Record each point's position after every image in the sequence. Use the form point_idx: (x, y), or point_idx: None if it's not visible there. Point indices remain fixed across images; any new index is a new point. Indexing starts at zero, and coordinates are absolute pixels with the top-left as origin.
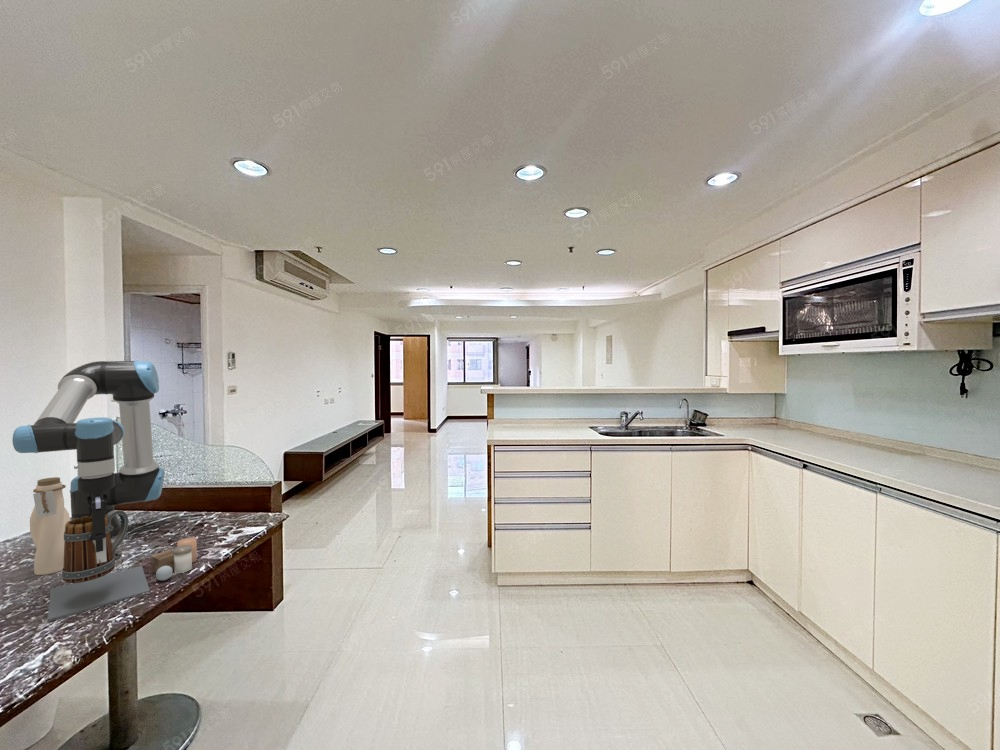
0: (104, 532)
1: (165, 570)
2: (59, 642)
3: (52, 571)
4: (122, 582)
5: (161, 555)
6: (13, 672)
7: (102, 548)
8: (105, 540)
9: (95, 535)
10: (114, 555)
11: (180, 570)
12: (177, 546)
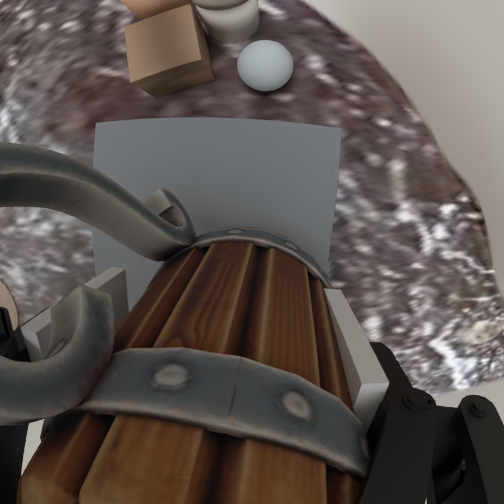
0: (502, 432)
1: (287, 59)
2: (435, 340)
3: (14, 311)
4: (192, 183)
5: (158, 50)
6: (461, 385)
7: (393, 357)
8: (379, 368)
9: (465, 467)
10: (182, 226)
11: (256, 26)
12: (135, 1)
